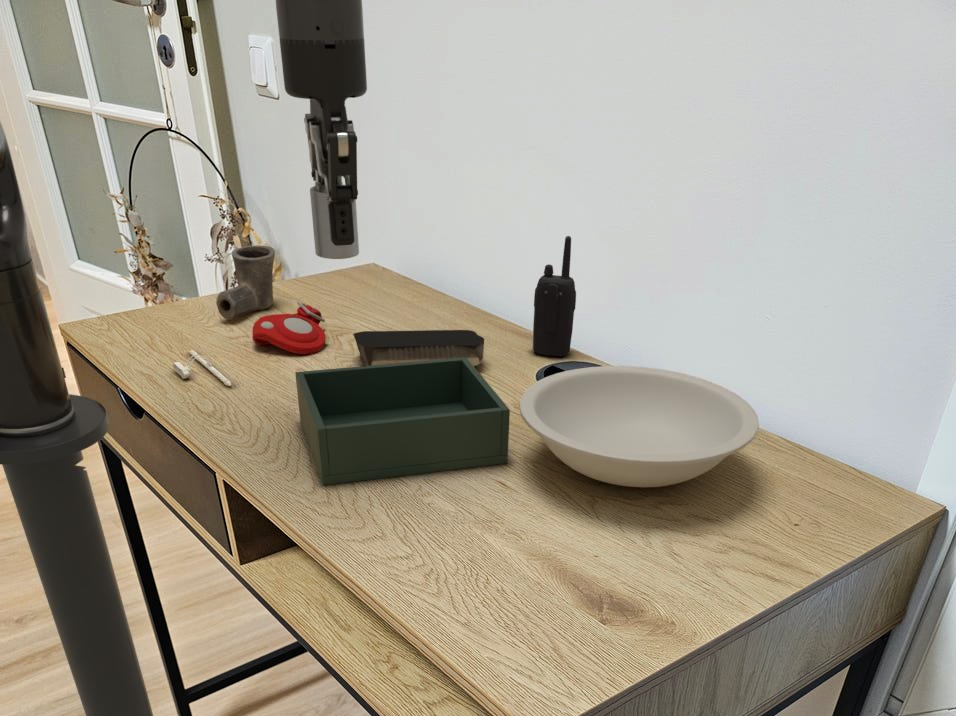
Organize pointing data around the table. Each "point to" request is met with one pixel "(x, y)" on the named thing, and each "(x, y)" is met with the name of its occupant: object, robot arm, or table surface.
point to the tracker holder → (292, 330)
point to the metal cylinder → (322, 227)
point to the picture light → (185, 370)
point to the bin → (401, 419)
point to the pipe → (249, 282)
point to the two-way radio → (554, 309)
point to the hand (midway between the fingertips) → (338, 237)
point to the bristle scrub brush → (418, 346)
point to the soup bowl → (637, 423)
